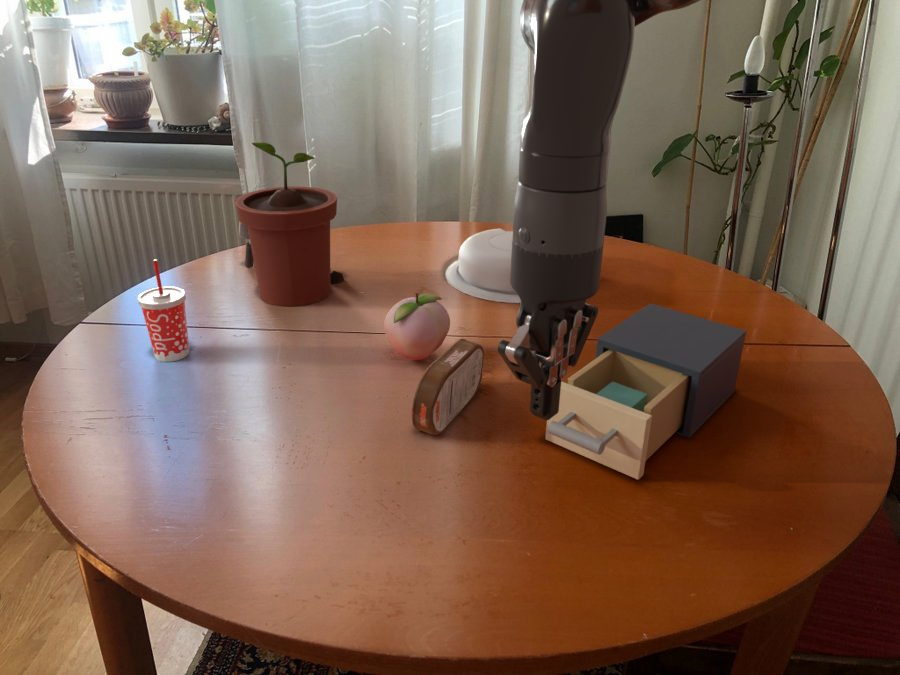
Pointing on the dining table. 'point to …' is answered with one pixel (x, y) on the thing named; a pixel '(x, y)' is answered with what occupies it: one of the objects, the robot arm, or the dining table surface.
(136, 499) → the dining table surface
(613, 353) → the drawer
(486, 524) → the dining table surface
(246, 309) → the dining table surface
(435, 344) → the decorative fruit
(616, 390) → the block
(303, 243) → the potted plant
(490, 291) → the round ceiling alarm
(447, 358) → the tin
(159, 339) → the beverage cup
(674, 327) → the cabinet
